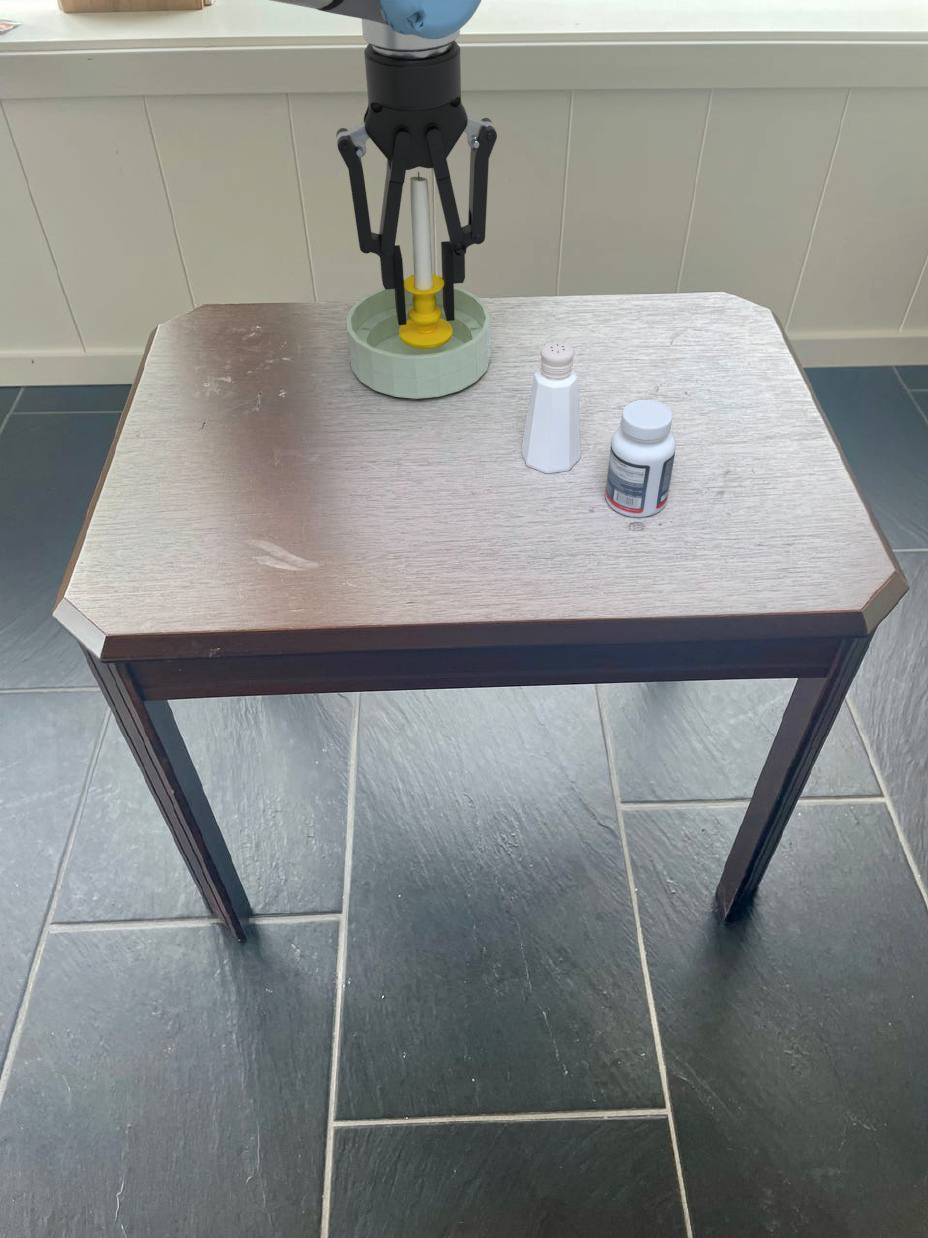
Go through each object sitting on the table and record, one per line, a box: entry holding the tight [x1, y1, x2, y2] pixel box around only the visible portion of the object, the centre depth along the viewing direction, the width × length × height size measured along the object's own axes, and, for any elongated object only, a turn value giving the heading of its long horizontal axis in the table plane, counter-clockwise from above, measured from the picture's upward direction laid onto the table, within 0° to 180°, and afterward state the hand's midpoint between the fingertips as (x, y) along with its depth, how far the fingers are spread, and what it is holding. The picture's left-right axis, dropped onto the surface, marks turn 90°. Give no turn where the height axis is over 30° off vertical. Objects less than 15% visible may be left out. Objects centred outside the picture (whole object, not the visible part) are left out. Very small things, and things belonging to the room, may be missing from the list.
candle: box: [399, 171, 453, 349], centre depth 88 cm, size 5×5×16 cm
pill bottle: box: [605, 399, 677, 518], centre depth 80 cm, size 5×5×9 cm
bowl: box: [345, 285, 492, 400], centre depth 96 cm, size 14×14×5 cm
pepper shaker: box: [520, 340, 582, 475], centre depth 83 cm, size 5×5×11 cm
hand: (425, 314), depth 92 cm, fingers closed on candle, 4 cm apart
